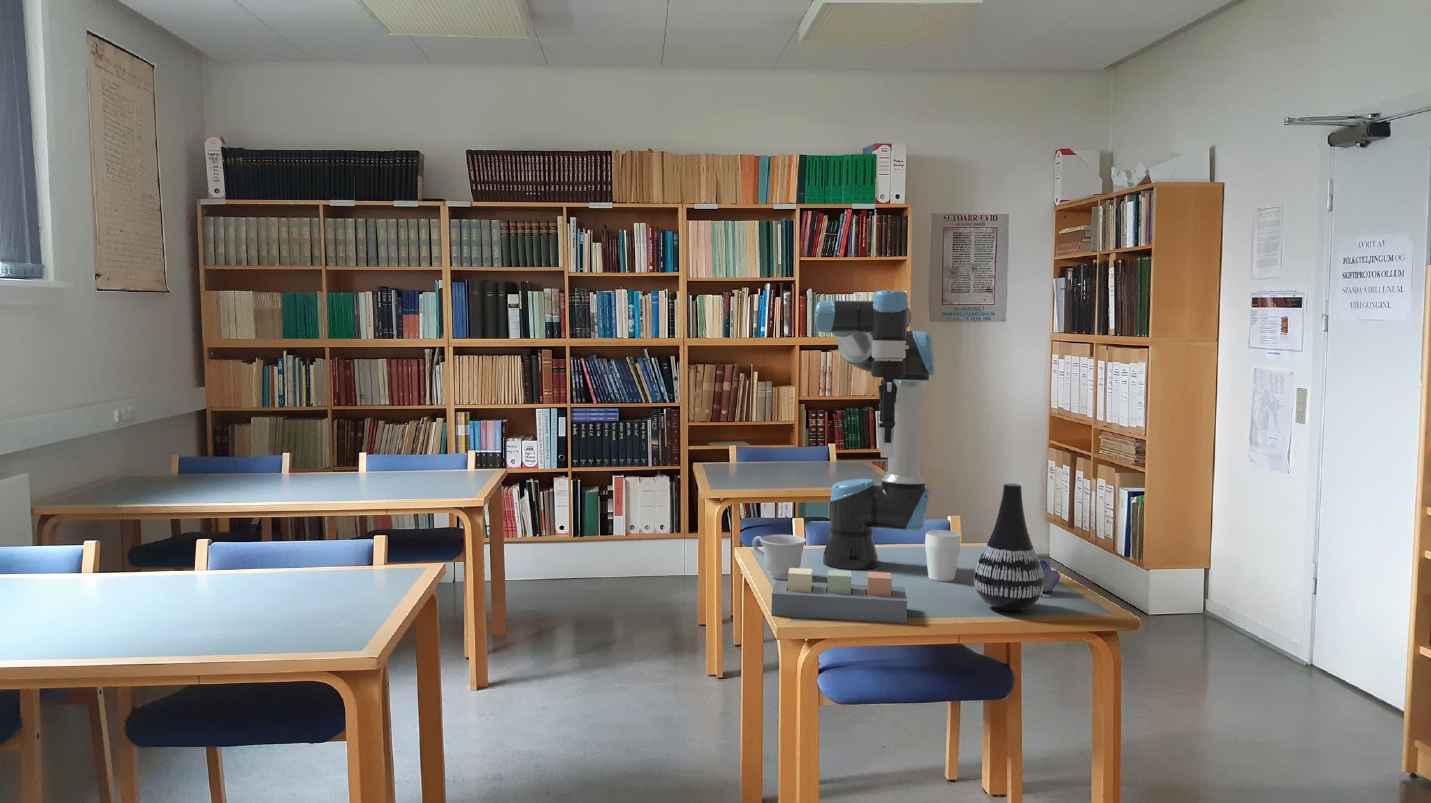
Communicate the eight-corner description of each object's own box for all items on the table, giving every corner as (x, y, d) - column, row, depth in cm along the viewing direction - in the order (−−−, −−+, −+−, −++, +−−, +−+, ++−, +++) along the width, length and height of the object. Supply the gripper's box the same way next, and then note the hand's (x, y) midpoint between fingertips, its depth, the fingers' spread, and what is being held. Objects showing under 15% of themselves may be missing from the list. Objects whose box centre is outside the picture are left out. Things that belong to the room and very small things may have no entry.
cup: (962, 576, 260) (963, 532, 259) (955, 584, 252) (956, 538, 251) (928, 572, 264) (929, 528, 263) (920, 580, 256) (921, 534, 255)
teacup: (762, 567, 266) (763, 531, 265) (813, 575, 259) (814, 537, 258) (741, 576, 256) (742, 539, 255) (793, 585, 248) (794, 546, 248)
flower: (1061, 574, 238) (1049, 548, 246) (1027, 586, 240) (1015, 560, 248) (1071, 600, 242) (1058, 574, 251) (1037, 612, 244) (1026, 585, 252)
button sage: (827, 603, 223) (827, 575, 223) (827, 597, 228) (828, 569, 228) (850, 604, 222) (851, 576, 222) (850, 598, 228) (851, 570, 227)
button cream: (787, 601, 224) (788, 573, 224) (788, 595, 230) (789, 567, 229) (810, 602, 224) (811, 574, 223) (811, 596, 229) (812, 568, 228)
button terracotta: (867, 605, 222) (867, 577, 221) (866, 599, 227) (867, 571, 227) (890, 607, 221) (891, 578, 221) (889, 600, 226) (890, 573, 226)
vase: (1033, 622, 220) (1038, 492, 217) (963, 611, 228) (968, 485, 226) (1050, 606, 233) (1055, 483, 231) (984, 595, 241) (988, 477, 239)
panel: (771, 615, 222) (771, 593, 221) (775, 600, 233) (776, 580, 233) (906, 623, 218) (907, 601, 217) (903, 608, 229) (904, 587, 229)
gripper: (909, 361, 208) (905, 461, 209) (902, 358, 232) (899, 448, 234) (873, 360, 208) (870, 460, 210) (870, 358, 233) (867, 446, 235)
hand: (885, 453), depth 222 cm, fingers open, 13 cm apart
